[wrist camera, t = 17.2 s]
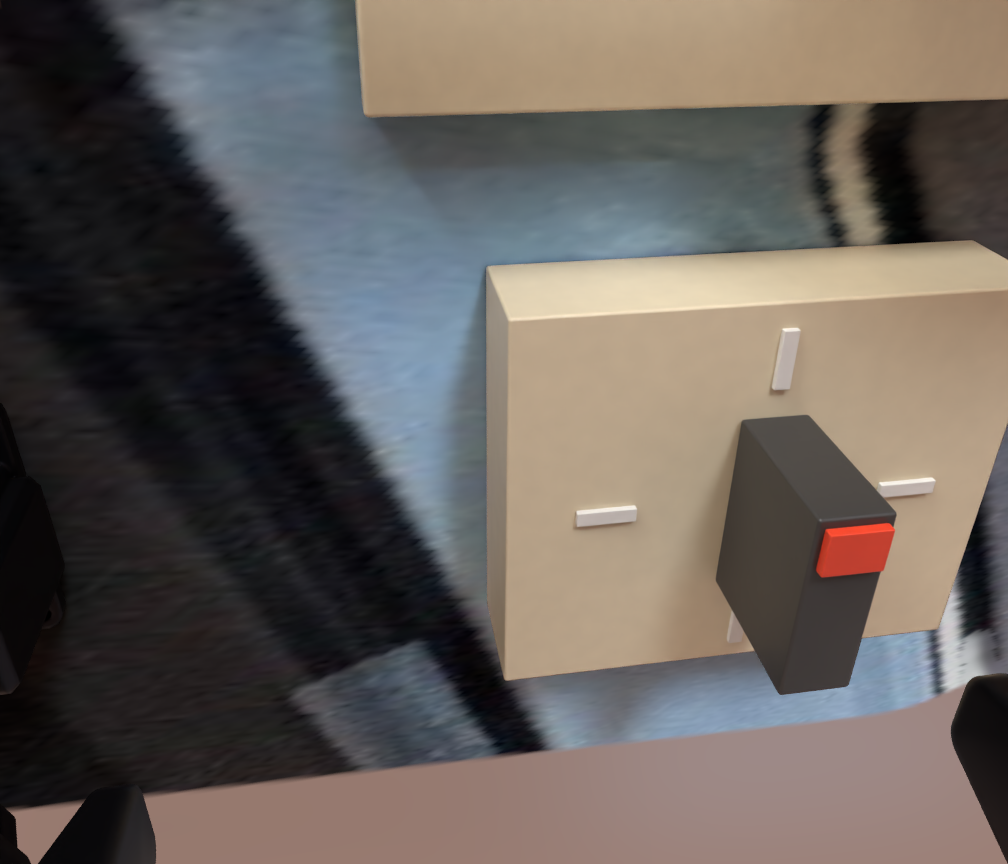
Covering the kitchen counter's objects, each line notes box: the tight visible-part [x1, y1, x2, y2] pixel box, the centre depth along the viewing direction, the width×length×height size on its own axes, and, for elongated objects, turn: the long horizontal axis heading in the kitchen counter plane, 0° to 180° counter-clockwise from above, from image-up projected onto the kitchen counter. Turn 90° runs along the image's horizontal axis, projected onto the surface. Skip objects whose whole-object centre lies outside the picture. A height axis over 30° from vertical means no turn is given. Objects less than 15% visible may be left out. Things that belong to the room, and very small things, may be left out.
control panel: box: [486, 240, 1008, 681], centre depth 23 cm, size 12×10×3 cm
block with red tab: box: [716, 415, 897, 695], centre depth 20 cm, size 5×2×4 cm, turn 0°
